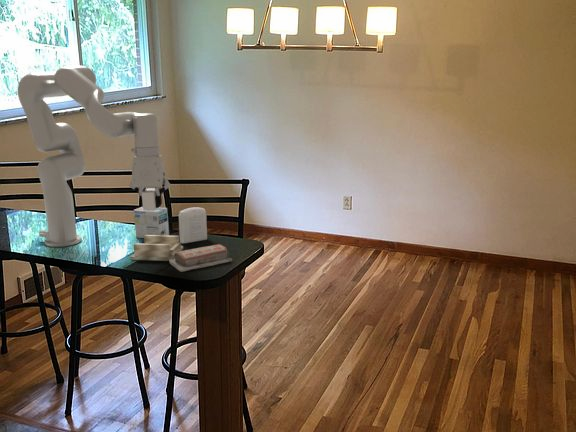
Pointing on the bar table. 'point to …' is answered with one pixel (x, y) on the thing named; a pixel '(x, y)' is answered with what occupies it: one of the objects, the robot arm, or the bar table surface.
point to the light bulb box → (151, 222)
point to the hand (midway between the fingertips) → (151, 206)
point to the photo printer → (192, 225)
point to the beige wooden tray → (157, 248)
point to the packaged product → (200, 257)
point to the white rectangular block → (149, 199)
